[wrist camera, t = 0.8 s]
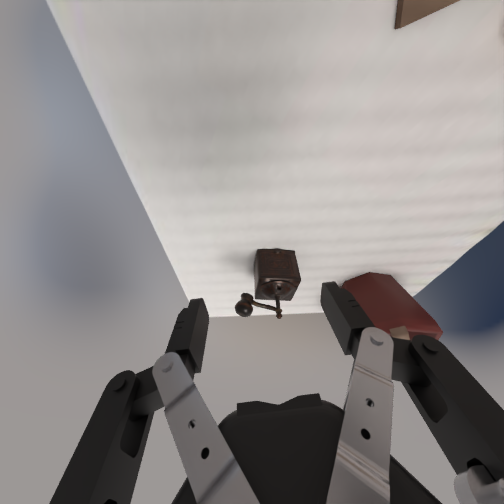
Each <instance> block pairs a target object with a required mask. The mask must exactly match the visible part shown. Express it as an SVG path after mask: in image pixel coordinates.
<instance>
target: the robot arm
mask: <svg viewBox="0 0 504 504" xmlns="http://www.w3.org/2000/svg"><path fill="white" fill-rule="evenodd" d="M321 306H322V309H323V311H324V313H325V315H326V317H327V319H328V321H329V323H330V325H331V327H332V329H333V331H334V333H335V335H336V337H337V339H338V341H339V343H340V346H341V348H342V350H343V352H344V354H345V355H351V354H352V356H353V358H354V363H353V367H352V372H351V376H350V381H349V385H348V389H347V394H346V398H345V402H344V406H343V410H342V409H341V408H339V407H338V406H336V405H334V404H332V403H330V402H327V401H324V400H321V398H320V395H319V394H318V393H317V394H309V395H301V396H297V397H295V398H293V399H291V400H289V401H286V402H285V403H282V404H280V405H276V404H270V403H266V402H260V401H252V402H244V403H237V410H236V411H234V412H232V413H231V414H229V415H228V416H227V417H226V418H225V419H223V420H222V422H221V423H220V424H219V425H218V426H217V424H216V422H215V420H214V419H213V417H212V415H211V413H210V411H209V410H208V408H207V406H206V404H205V402H204V400H203V399H202V397H201V395H200V393H199V391H198V389H197V388H196V386H195V384H194V382H193V379H194V374H195V373H200V372H201V367H202V361H203V355H204V349H205V343H206V337H207V331H208V324H209V315H208V311H207V308H206V306H205V303H204V300H203V298H198V299H191V300H190V303H189V306H188V308H184V309H183V310H182V311H181V312H180V314H179V315H178V317H177V320H176V324H175V326H174V330H173V332H172V334H171V337H170V340H169V343H168V346H167V349H166V352H165V354H164V355H163V356H161V357H160V358H159V359H158V360H157V361H156V363H155V364H154V366H152V367H150V368H148V369H146V370H144V371H142V372H139V373H137V374H135V373H134V372H132V371H130V370H127V371H123V372H121V373H119V374H117V375H116V376H115V377H114V378H112V379H111V380H110V382H109V383H108V384H107V386H106V388H105V390H104V392H103V394H102V396H101V398H100V400H99V402H98V404H97V406H96V408H95V411H94V413H93V415H92V417H91V419H90V421H89V423H88V425H87V427H86V429H85V431H84V433H83V435H82V437H81V439H80V442H79V443H78V446H77V448H76V450H75V452H74V454H73V456H72V458H71V460H70V462H69V464H68V466H67V468H66V470H65V472H64V475H63V477H62V479H61V481H60V483H59V485H58V487H57V489H56V491H55V493H54V495H53V497H52V499H51V501H50V504H130V502H131V499H132V495H133V491H134V487H135V483H136V480H137V476H138V472H139V468H140V464H141V461H142V457H143V453H144V449H145V445H146V441H147V438H148V434H149V430H150V426H151V422H152V419H153V415H154V411H156V410H158V409H160V408H162V407H164V406H165V410H164V412H165V416H166V419H167V422H168V424H169V427H170V430H171V433H172V435H173V438H174V441H175V444H176V446H177V449H178V452H179V454H180V457H181V460H182V463H183V466H184V468H185V471H186V474H187V478H186V480H185V482H184V483H183V485H182V487H181V488H180V490H179V492H178V494H177V495H176V497H175V499H174V500H173V502H172V504H442V503H441V502H440V501H439V500H438V499H437V498H435V496H433V495H432V494H431V493H430V492H429V491H428V490H427V489H426V488H425V487H424V486H423V485H422V484H421V483H420V482H419V481H418V480H417V479H416V478H415V477H414V476H413V475H411V474H410V473H409V472H408V471H407V470H406V469H405V468H404V467H403V466H402V465H401V464H400V463H399V462H398V461H397V460H396V459H395V458H394V457H392V456H391V455H390V446H391V429H392V411H393V392H394V384H393V382H392V381H391V379H392V380H396V381H401V382H402V384H403V386H404V387H405V389H406V390H407V392H408V394H409V396H410V397H411V399H412V401H413V402H414V404H415V405H416V407H417V409H418V411H419V412H420V414H421V416H422V417H423V419H424V421H425V422H426V424H427V425H428V427H429V429H430V431H431V432H432V434H433V436H434V437H435V439H436V440H437V442H438V444H439V445H440V447H441V449H442V450H443V452H444V454H445V455H446V457H447V459H448V460H449V462H450V463H451V465H452V467H453V469H454V470H455V472H456V474H457V476H456V477H455V480H454V489H455V493H456V496H457V498H458V500H459V502H460V504H504V410H503V409H502V408H501V407H500V406H499V405H498V403H497V402H496V401H495V400H494V399H493V398H492V397H491V396H490V395H489V394H488V393H487V391H486V390H485V389H484V388H483V387H482V386H481V385H480V384H479V383H478V382H477V380H475V378H474V377H473V376H472V375H471V374H470V373H469V372H468V371H467V370H466V369H465V367H464V366H463V365H462V364H461V363H460V362H459V361H458V360H457V359H456V358H455V357H454V355H453V354H452V353H451V352H450V351H449V350H448V349H447V348H446V347H445V346H444V345H443V344H442V343H441V342H439V341H438V340H436V339H435V338H433V337H430V336H427V335H416V336H414V337H413V338H412V340H406V339H399V338H394V337H390V336H389V335H388V334H387V333H386V332H385V331H383V330H381V329H379V328H376V327H375V325H374V324H373V323H372V321H371V320H370V318H369V317H368V316H367V314H366V313H365V311H364V310H363V309H362V307H361V306H360V304H359V303H358V302H357V301H356V299H355V298H354V296H353V295H352V293H350V292H349V291H348V290H346V289H345V288H342V289H340V288H339V287H338V285H337V284H336V282H334V281H333V282H326V283H322V290H321Z"/></svg>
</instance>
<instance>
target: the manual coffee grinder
mask: <svg viewBox="0 0 504 504" xmlns="http://www.w3.org/2000/svg"><path fill="white" fill-rule="evenodd" d="M254 279H255V299H262V300H276V308H275V307H273V306H270V305H265V304H261V303H257V302H255V301H254V300H253V296H252V295H250V294H249V293H243V294H242V295H241V300H240V301H239V302H238V303H237V304H236V305H235V310H236V313H237V314H239V315H240V316H242V317H248V316H250V315H251V314H252V311H253V307H252V305H254V306H257V307H261V308H265V309H269V310H273V311H276V313H277V315H276V317H277V318H278V319H280V318H281V317H282V314H281V312H282V309H280V301H279V300H285V301H291V299H292V298H293V296H294V294H295V292H296V290H297V288H298V286H299V284H300V282H301V277H300V273H299V268H298V264H297V260H296V256H295V251H289V250H280V249H261V250H258V251H257V254H256V257H255V263H254ZM251 304H252V305H251Z"/></svg>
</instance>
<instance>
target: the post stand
mask: <svg viewBox="0 0 504 504" xmlns="http://www.w3.org/2000/svg"><path fill="white" fill-rule="evenodd" d="M457 1H459V0H398V6H397V14H396V23H395V29H398V28H402V27H404V26H406V25H408V24H410V23H412V22H414V21H417V20H419V19H421V18H423V17H425V16H427V15H429V14H432V13H434V12H436V11H438V10H440V9H442V8H444V7H447V6H449V5H451V4H453V3H455V2H457Z"/></svg>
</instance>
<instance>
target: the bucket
mask: <svg viewBox="0 0 504 504" xmlns="http://www.w3.org/2000/svg"><path fill="white" fill-rule="evenodd" d="M342 288H345V289H346V290H348V291H349V292H350V293H352V295H353V296H354V298H355V299H356V301H357V302H358V303H359V304H360V306H361V307H362V309H363V310H364V311H365V313H366V314H367V316H368V317H369V318H370V320H371V321H372V323H373V324H374V325H375V327H376V328H379V329H381V330H383V331H385V332H386V333H387V334H388V335H389V336H390V337H394V338H399V339H406V340H412V338H413V337H414V336H416V335H427V336H430V337H433V338H435V339H436V340H439V338H440V337H441V335H442V333H443V331H442V330H441V328H440V327H439V326H438V324H437V323H436V321H435V320H434V319H433V318H432V317H431V316H430V315H429V314H428V313H427V312H426V311H425V310H424V309H423V308H422V307H421V306H420V305H419V304H418V303H417V302H416V301H415V300H414V299H413V298H412V297H411V295H410V294H409V293H408V292H407V291H406V290H405V289H404V288H403V287H402V286H401V285H400V284H399V283H398V282H397V281H396V280H395V279H394V278H393V277H392V276H391V275H386V274H379V273H372V272H369V273H366V274H363V275H360V276H358V277H355V278H352V279H350V280H347V281H345V282H344V284H343V286H342V287H341V289H342Z"/></svg>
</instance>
